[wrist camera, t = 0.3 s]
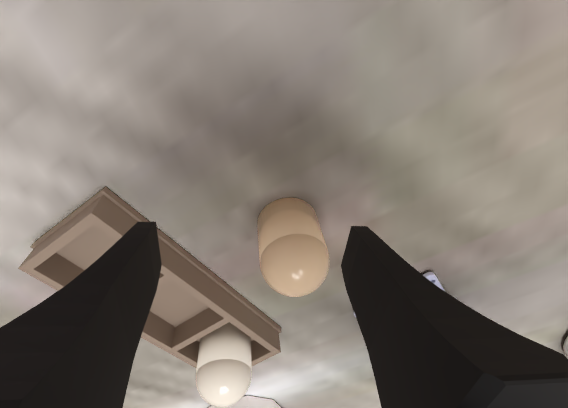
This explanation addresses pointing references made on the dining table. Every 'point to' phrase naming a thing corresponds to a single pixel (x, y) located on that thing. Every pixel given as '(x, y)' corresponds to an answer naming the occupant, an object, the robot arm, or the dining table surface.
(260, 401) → the toilet paper
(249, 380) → the cream egg
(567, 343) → the chalice
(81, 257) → the egg carton
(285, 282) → the tan egg
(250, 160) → the dining table surface
